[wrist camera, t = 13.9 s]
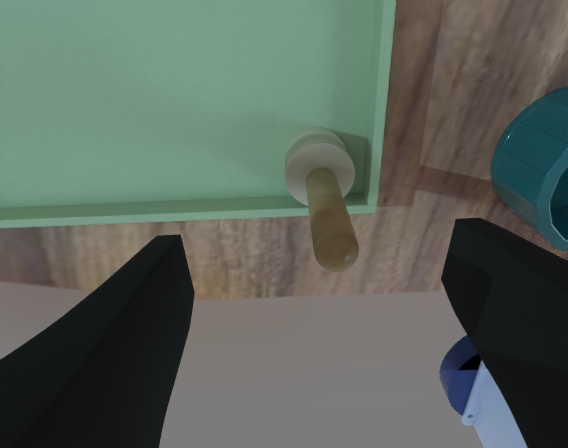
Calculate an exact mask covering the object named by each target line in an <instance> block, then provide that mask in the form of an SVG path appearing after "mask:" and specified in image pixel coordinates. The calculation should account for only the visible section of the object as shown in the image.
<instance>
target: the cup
mask: <svg viewBox="0 0 568 448" xmlns="http://www.w3.org/2000/svg"><path fill="white" fill-rule="evenodd" d="M491 179H492V184H493V188H494V190H495V192H496V194H497V196H498V197H499V198H500V200H501V201H502V202H503V203H504V204H505V205H506V206H508V208H509V209H510V210H511V211H512V212H513V213H514V214H515V215H517V216H518V217H519V218H520V219H521V220H522V221H524V222H525V223H526V224H527V225H528V226H529V227H531V228H532V229H533V230H534V231H535V232H536V233H537V234H539V235H540V236H541V237H542V238H543V239H544V240H546V241H547V242H548V243H549V244H550V245H551V246H553V247H554V248H556V249H559V250H562V251H565V252H568V86H567V87H564V88H561V89H558V90H556V91H553V92H551V93H549V94H547V95H545V96H544V97H542V98H540V99H539V100H537V101H535V102H534V103H533V104H531V105H530V106H529V107H527V108H526V109H525V110H524V111H523V112H522V113H521V114H520V115H518V117H517V118H516V119H515V120H514V121H513V122H512V123H511V124H510V126H509V127H508V128H507V130H506V131H505V132H504V134H503V136H502V137H501V139H500V141H499V143H498V145H497V147H496V150H495V153H494V156H493V160H492V165H491Z"/></svg>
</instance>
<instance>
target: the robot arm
mask: <svg viewBox="0 0 568 448" xmlns="http://www.w3.org/2000/svg"><path fill="white" fill-rule="evenodd" d="M441 280H442V283H443V285H444V288H445V290H446V293H447V296H448V298H449V300H450V303H451V305H452V307H453V309H454V312H455V314H456V316H457V317H458V319H459V321H460V323H461V325H462V326H463V328H464V330H465V332H466V333H467V335H468V337H469V339H470V340H471V342H472V344H473V345H474V347H475V349H476V350H477V352H478V354H479V356H480V357H481V359H482V360H481V363H480V366H479V369H478V372H477V375H476V378H475V381H474V384H473V387H472V390H471V393H470V396H469V399H468V402H467V404H466V407H465V410H464V413H463V417H462V422H463V424H464V425H474V427H475V429H476V431H477V433H478V436H479V438H480V440H481V442H482V444H483V447H484V448H568V261H567V260H565V259H563V258H561V257H559V256H557V255H555V254H553V253H551V252H549V251H547V250H545V249H543V248H541V247H539V246H537V245H535V244H533V243H531V242H529V241H527V240H525V239H523V238H521V237H519V236H517V235H516V234H514V233H512V232H510V231H508V230H506V229H504V228H502V227H499V226H497V225H495V224H493V223H491V222H489V221H486V220H484V219H481V218H465V219H456V221H455V225H454V229H453V233H452V237H451V241H450V245H449V249H448V253H447V257H446V261H445V265H444V269H443V273H442V277H441ZM194 294H195V293H194V288H193V284H192V280H191V276H190V272H189V268H188V263H187V259H186V255H185V251H184V247H183V243H182V238H181V235H163V236H156V237H155V238H154V239H153V240H151V241H150V242H149V243H148V244H147V245H146V246H145V247H143V248H142V249H141V250H140V251H139V252H138V253H137V254H136V255H135V256H133V257H132V258H131V259H130V260H129V261H128V262H127V263H126V264H125V265H123V266H122V267H121V268H120V269H119V270H118V271H117V272H116V273H114V274H113V275H112V276H111V277H110V278H109V279H108V280H106V281H105V282H104V283H103V284H102V285H101V286H100V287H98V288H97V289H96V290H95V291H93V292H92V293H91V294H90V295H88V296H87V297H86V298H85V299H84V300H82V301H81V302H80V303H79V304H77V305H76V306H75V307H74V308H72V309H71V310H70V311H69V312H67V313H66V314H65V315H64V316H62V317H61V318H60V319H58V320H57V321H56V322H54V323H53V324H52V325H51V326H49V327H48V328H46V329H45V330H44V331H42V332H41V333H39V334H38V335H36V336H35V337H33V338H32V339H30V340H29V341H28V342H26V343H25V344H23V345H22V346H20V347H19V348H18V349H16V350H14V351H13V352H11V353H10V354H8V355H7V356H5V357H4V358H2V359H1V360H0V448H159V443H160V438H161V433H162V427H163V423H164V419H165V415H166V411H167V407H168V403H169V400H170V396H171V393H172V389H173V386H174V382H175V379H176V375H177V372H178V368H179V364H180V361H181V357H182V354H183V350H184V346H185V343H186V339H187V336H188V332H189V328H190V322H191V316H192V309H193V301H194Z"/></svg>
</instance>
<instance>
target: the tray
mask: <svg viewBox="0 0 568 448" xmlns="http://www.w3.org/2000/svg"><path fill="white" fill-rule="evenodd" d="M395 11H396V0H0V228H18V227H42V226H67V225H92V224H117V223H141V222H166V221H191V220H216V219H241V218H265V217H290V216H309V208H308V206H307V205H304V204H302V203H300V202H299V201H297V200H296V199H295V198H294V197H293V196H292V195H291V194H290V192H289V190H288V188H287V186H286V182H285V153H286V149H287V147H288V144H289V143H290V141H291V140H292V139H293V138H294V137H295V136H296V135H297V134H298V133H300V132H302V131H303V130H306V129H309V128H315V127H318V128H325V129H329V130H331V131H333V132H334V133H336V134H337V135H338V136H339V137H340V138H341V139H342V141H343V142H344V144H345V147H346V149H347V151H348V153H349V155H350V157H351V159H352V161H353V164H354V169H355V178H354V182H353V185H352V187H351V189H350V191H349V192H348V193H347V195H346V196H345V197H344V198H343V199H344V202H345V205H346V208H347V211H348V214H364V213H376V212H377V202H378V191H379V181H380V170H381V160H382V149H383V138H384V128H385V117H386V106H387V96H388V85H389V74H390V64H391V53H392V43H393V32H394V21H395Z"/></svg>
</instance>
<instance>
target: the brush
mask: <svg viewBox="0 0 568 448" xmlns="http://www.w3.org/2000/svg"><path fill="white" fill-rule="evenodd" d="M354 178H355V169H354V164H353V161H352V159H351V157H350V155H349V153H348V151H347V149H346V147H345V144H344V142H343V141H342V139H341V138H340V137H339V136H338V135H337V134H336V133H334V132H333V131H331V130H329V129H325V128H318V127H315V128H309V129H306V130H303V131H302V132H300V133H298V134H297V135H296V136H295V137H294V138H293V139H292V140H291V141H290V143H289V144H288V147H287V149H286V153H285V182H286V186H287V188H288V190H289V192H290V194H291V195H292V196H293V197H294V198H295V199H296V200H297V201H299V202H300V203H302V204H304V205H307V206H308V208H309V216H310V223H311V231H312V239H313V247H314V254H315V257H316V260H317V261H318V262H319V264H320V265H321V266H322V267H324V268H325V269H327V270H329V271H334V272H339V271H344V270H346V269H348V268H350V267H351V266H352V265H353V264H354V262H355V261H356V259H357V257H358V252H359V247H358V242H357V239H356V236H355V233H354V230H353V227H352V224H351V221H350V218H349V214H348V211H347V208H346V205H345V202H344V199H343V198H344V197H345V196H346V195H347V193H348V192H349V191H350V189H351V187H352V185H353V182H354Z"/></svg>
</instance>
